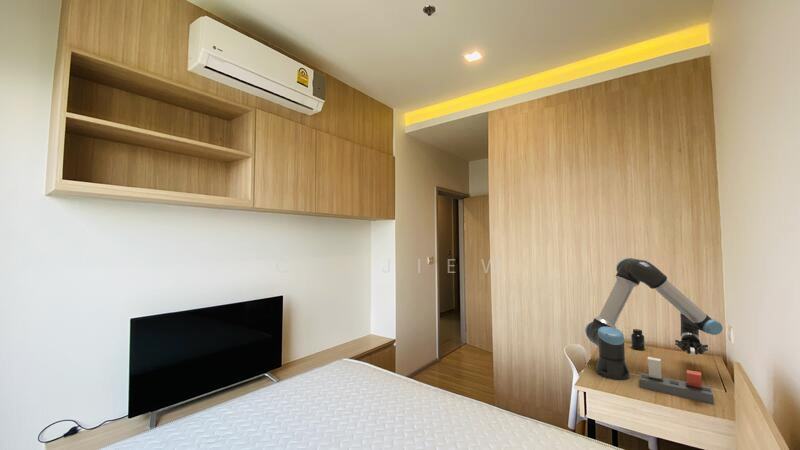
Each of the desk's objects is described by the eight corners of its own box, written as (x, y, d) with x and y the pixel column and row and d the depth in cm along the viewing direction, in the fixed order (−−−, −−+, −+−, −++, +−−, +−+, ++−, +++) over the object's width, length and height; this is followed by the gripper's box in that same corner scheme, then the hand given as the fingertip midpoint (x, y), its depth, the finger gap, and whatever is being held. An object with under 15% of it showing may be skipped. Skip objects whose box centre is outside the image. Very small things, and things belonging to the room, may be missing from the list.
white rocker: (648, 377, 159) (647, 358, 157) (648, 375, 160) (647, 356, 158) (661, 379, 156) (660, 361, 154) (661, 377, 157) (660, 359, 155)
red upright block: (686, 385, 150) (686, 372, 146) (686, 382, 151) (686, 369, 146) (701, 388, 147) (701, 375, 142) (701, 385, 148) (701, 372, 143)
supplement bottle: (645, 351, 203) (644, 332, 204) (632, 349, 207) (631, 330, 207) (644, 348, 209) (643, 329, 210) (631, 346, 213) (630, 327, 213)
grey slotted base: (639, 387, 159) (639, 378, 159) (641, 380, 165) (640, 371, 166) (713, 404, 142) (713, 393, 142) (711, 395, 149) (711, 385, 149)
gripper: (707, 351, 169) (711, 365, 151) (674, 345, 177) (675, 358, 159) (707, 336, 169) (711, 349, 151) (674, 331, 178) (674, 343, 159)
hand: (692, 354), depth 155 cm, fingers closed
